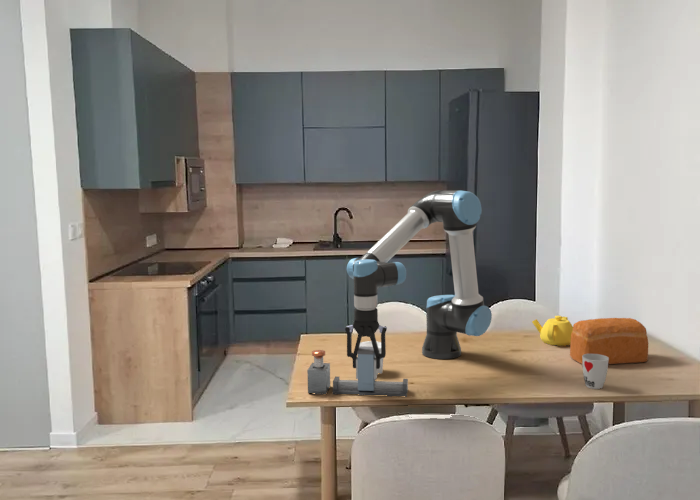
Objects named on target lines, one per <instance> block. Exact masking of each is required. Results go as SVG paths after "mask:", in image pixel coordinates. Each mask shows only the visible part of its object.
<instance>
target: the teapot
mask: <svg viewBox="0 0 700 500" xmlns="http://www.w3.org/2000/svg"><path fill="white" fill-rule="evenodd" d="M531 323H532V324H533V326H534V327H535V328H536V330H537V332H539V338H540V339H541V341H542V342H543V343H544V344H546V343H547V345H549V344H550V345H551V346H555V345H557V346H559V347H566V345H568V346H570V345H571V333H572V332H573V325H572V323H571V322H570V320H569V318H568V316H561V315H554V317H553V318H548V319H547V320H546V321H545V323H544V324H543V326H542V325H541V324H540V321H539V320H538V319H537V318H536V319H534V320H532V321H531Z"/></svg>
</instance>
